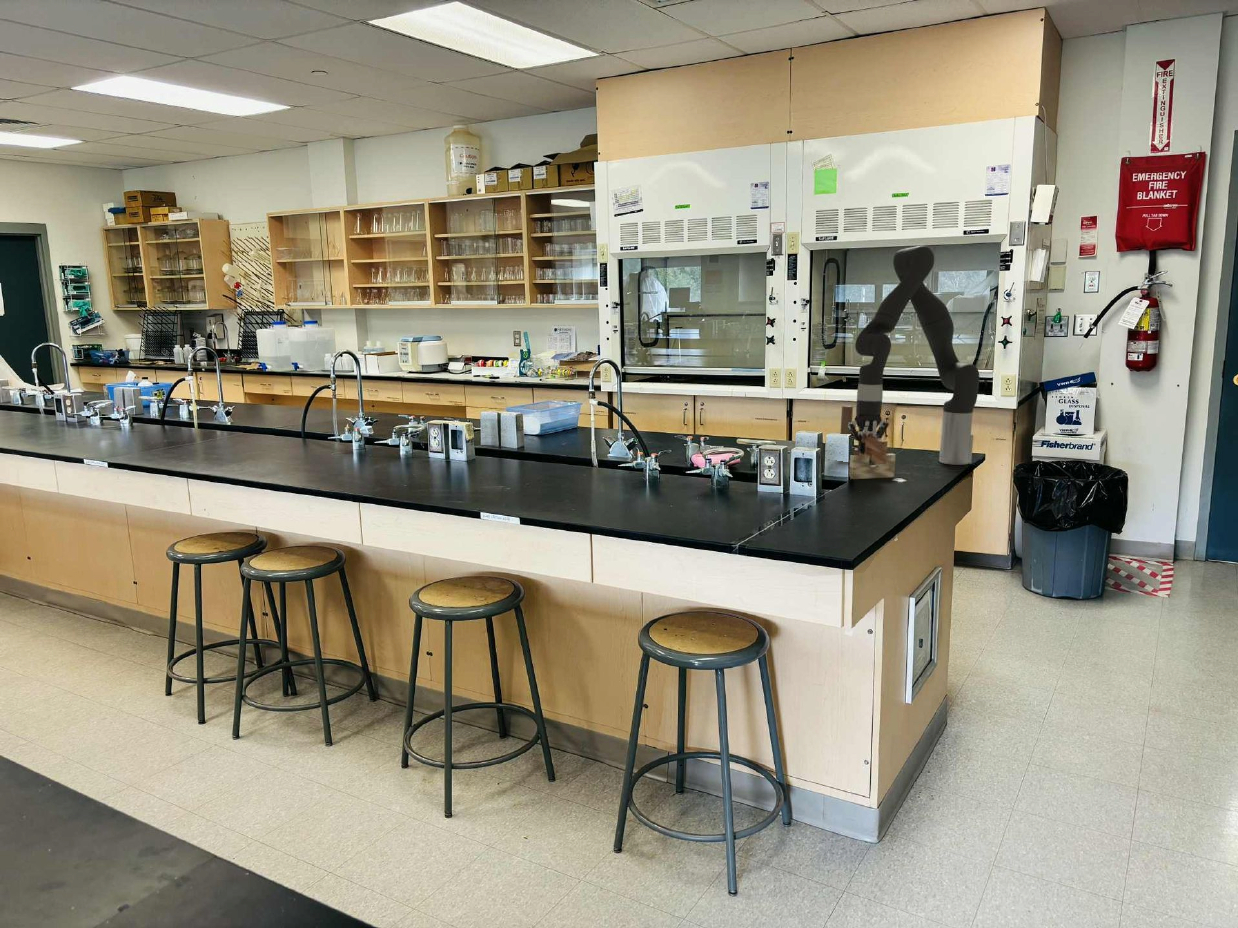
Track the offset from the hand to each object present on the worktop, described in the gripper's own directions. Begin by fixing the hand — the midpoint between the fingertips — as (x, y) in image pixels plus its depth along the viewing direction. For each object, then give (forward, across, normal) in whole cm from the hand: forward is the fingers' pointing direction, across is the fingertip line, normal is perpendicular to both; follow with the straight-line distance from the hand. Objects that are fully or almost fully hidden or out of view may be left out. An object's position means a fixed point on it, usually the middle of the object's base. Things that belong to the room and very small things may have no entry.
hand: (865, 453), depth 269 cm
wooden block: (+7, -8, -23) cm, 25 cm away
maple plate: (+7, 0, +4) cm, 8 cm away
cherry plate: (+1, 0, +4) cm, 4 cm away
